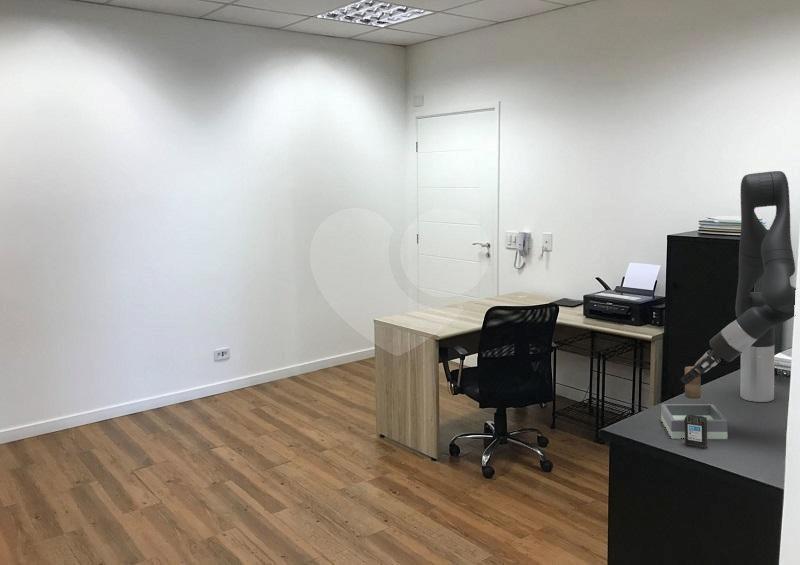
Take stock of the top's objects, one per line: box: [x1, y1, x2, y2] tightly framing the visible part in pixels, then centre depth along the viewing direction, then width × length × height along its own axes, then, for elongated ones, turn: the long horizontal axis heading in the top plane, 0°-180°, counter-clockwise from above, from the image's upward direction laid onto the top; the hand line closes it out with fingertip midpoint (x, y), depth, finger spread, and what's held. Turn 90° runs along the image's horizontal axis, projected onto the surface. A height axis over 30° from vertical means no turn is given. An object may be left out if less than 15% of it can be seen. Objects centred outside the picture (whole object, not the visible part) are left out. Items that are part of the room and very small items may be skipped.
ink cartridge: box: [684, 415, 708, 450], centre depth 174 cm, size 5×2×8 cm, turn 51°
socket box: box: [660, 403, 728, 440], centre depth 186 cm, size 14×14×5 cm
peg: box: [684, 365, 702, 400], centre depth 184 cm, size 4×4×8 cm
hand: (685, 379), depth 185 cm, fingers closed on peg, 4 cm apart
